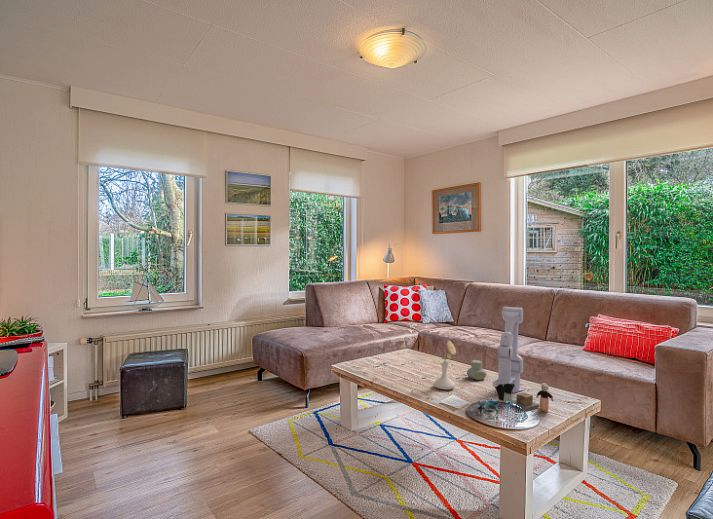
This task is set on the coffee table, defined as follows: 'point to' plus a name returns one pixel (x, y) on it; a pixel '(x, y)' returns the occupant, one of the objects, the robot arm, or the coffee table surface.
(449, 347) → the flower in vase
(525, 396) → the walnut block
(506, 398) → the sage block
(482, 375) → the air freshener
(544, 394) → the grandmother figurine
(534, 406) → the plinth
